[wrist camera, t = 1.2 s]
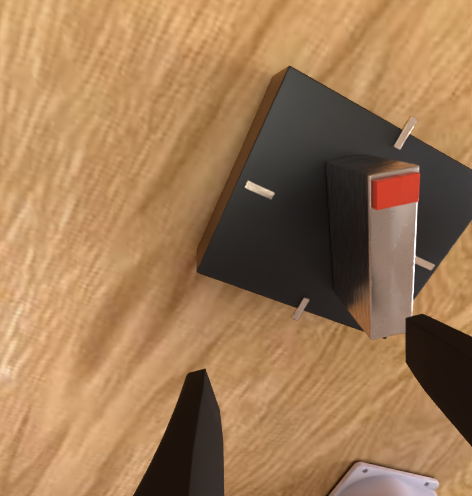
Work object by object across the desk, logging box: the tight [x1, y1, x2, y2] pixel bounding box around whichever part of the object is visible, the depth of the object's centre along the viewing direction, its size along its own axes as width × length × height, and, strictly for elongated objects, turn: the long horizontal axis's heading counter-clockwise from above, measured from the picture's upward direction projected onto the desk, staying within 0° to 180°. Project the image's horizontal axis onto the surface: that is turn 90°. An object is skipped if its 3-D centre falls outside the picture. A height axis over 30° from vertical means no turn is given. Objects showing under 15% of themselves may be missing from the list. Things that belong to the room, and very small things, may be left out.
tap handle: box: [325, 154, 420, 340], centre depth 14 cm, size 7×2×4 cm, turn 10°
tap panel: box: [197, 66, 472, 339], centre depth 17 cm, size 12×11×3 cm
